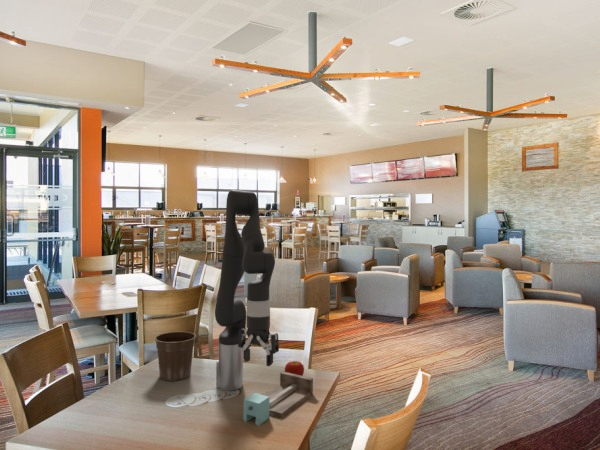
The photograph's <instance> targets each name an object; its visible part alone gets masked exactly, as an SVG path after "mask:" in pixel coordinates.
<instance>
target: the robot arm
mask: <svg viewBox="0 0 600 450" xmlns="http://www.w3.org/2000/svg"><path fill="white" fill-rule="evenodd" d="M225 206H226V207H225V230H224V238H223V239H224V241H223V248H222V258H221V271H220V279H219V287H218V293H217V298H216V303H215V308H214V317H215V321H216V323H217V324H218V325H219V326H220V327H222V328H223V327H225V328H224V329H223V331H221V332H220V333H219V336H218V360H217V361H216V363H215V364H216V367H215V368H216V372H215V373H216V374H215V375H216V377H215V379H216V382H215V384H216V385H215V387H217V388H219V389H220V390H222V391H229V392H230V391H237V390H240V389H242V387H243V382H244V381H243V379H244V377H243V376H244V375H243V373H244V372H243V371H244V362H250V361H251V349H250V348H251V347H252V345H253V346H259V347H261V348H262V349H263V350H265V353H266V356H265V357H266V358H265V359H266V361H265V362H266V363H265V364H266V366H267V367H270V366H272V365H273V363H274V354H277V353H278V352H279V351H280V348H279V347H280V345H279V334H278V332H277V333H270V327H271V306H270V305H271V303H270V287H271V280H272V276H273V273H274V269H275V267H276V266H275V265H276V259H275V256H274V254H273V253H272V252H271V251H265V247H266V246H265V244H266V243H265V241H264V237H263V234H262V230H261V224H260V223H261V222H260V209H259V201H258V196H257V194H256V193H255V192H253V191H246V190H238V189H231V190H229V191H228V194H227V196H226V205H225ZM236 216H246V217H249V218H248V220H247V221H246V223H245V224H244V226H243V227H242V229H241V233H240V232H239V229H238V227H237V221H236ZM245 273H246V274H248V275H257V274H260V275H261V274H262V275H261V277H260V278H258V279H256V280H252V281H249V282H248V283H247V299H246V300H247V302H246V303H247V304H246V306H245V302H243V301H242V300H241V299H239V298H235V295H236V290H237V287H238V286H239V283H240V282H241V280H242V278H243V275H244V274H245ZM246 338H247V339H246Z"/></svg>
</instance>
